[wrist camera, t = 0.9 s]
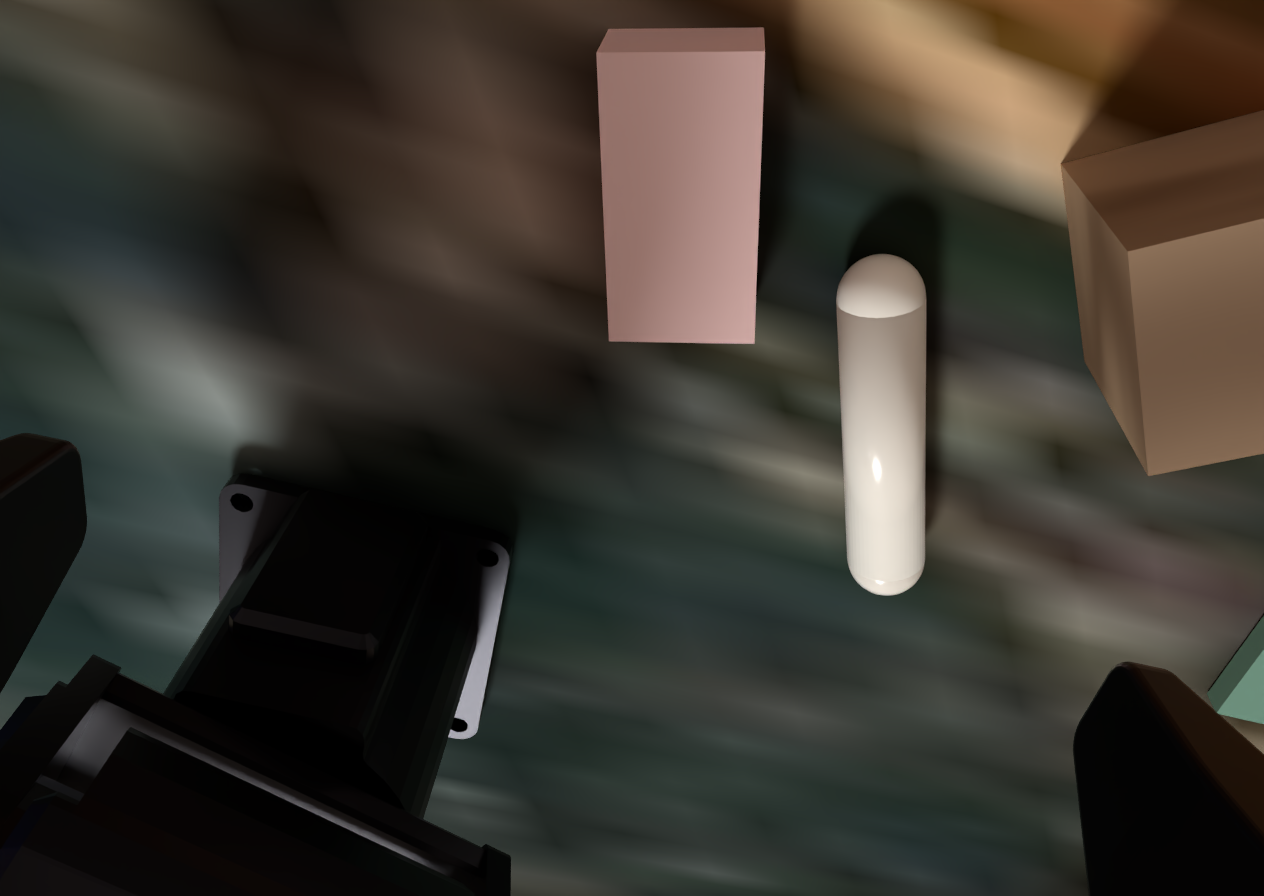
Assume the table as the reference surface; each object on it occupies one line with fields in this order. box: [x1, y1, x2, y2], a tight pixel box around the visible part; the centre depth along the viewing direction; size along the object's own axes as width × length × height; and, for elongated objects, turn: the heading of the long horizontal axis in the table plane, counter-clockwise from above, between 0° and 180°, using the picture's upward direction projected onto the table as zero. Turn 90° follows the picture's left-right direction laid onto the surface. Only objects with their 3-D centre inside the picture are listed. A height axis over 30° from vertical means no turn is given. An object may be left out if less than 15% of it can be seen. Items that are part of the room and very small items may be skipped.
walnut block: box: [1061, 110, 1264, 476], centre depth 18 cm, size 4×4×4 cm
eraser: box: [596, 27, 765, 344], centre depth 19 cm, size 5×3×2 cm, turn 2°
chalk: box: [836, 254, 926, 595], centre depth 21 cm, size 8×2×2 cm, turn 8°
